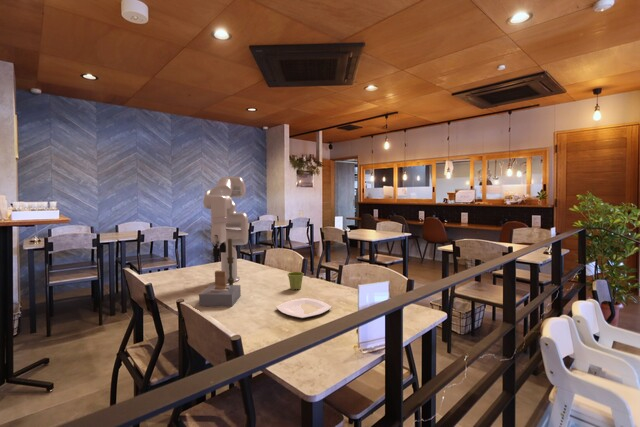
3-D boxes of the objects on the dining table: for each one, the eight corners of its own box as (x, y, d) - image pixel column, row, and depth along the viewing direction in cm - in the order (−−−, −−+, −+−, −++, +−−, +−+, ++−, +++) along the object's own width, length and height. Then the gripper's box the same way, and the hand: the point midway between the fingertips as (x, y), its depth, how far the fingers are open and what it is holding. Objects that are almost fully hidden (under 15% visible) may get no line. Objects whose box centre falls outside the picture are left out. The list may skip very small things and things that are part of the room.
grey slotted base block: (210, 296, 180) (210, 283, 180) (240, 296, 180) (240, 283, 179) (199, 306, 164) (199, 293, 164) (232, 306, 164) (231, 293, 163)
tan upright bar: (217, 297, 173) (216, 270, 172) (226, 297, 173) (226, 270, 172) (215, 299, 170) (214, 271, 169) (225, 299, 170) (224, 271, 169)
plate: (269, 310, 159) (269, 306, 159) (305, 299, 175) (305, 295, 175) (301, 324, 143) (301, 320, 143) (338, 310, 159) (338, 306, 159)
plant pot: (284, 289, 191) (284, 274, 190) (293, 285, 199) (293, 271, 199) (298, 292, 187) (298, 276, 186) (306, 287, 195) (306, 272, 194)
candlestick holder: (224, 293, 184) (223, 239, 181) (221, 289, 192) (219, 237, 190) (241, 291, 188) (240, 238, 186) (237, 287, 196) (236, 235, 194)
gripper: (217, 218, 178) (218, 251, 179) (205, 222, 160) (206, 257, 162) (231, 218, 177) (232, 251, 179) (221, 222, 160) (221, 257, 161)
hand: (219, 254), depth 170 cm, fingers open, 9 cm apart
